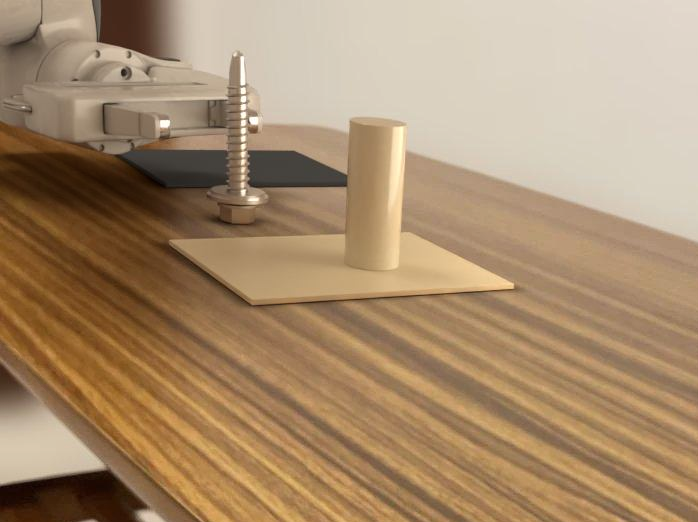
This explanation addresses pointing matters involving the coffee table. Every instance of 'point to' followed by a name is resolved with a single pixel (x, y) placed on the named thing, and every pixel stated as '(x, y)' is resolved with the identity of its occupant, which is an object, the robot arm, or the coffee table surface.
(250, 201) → the screw
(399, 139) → the cream peg
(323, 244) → the cream mat
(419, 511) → the coffee table surface
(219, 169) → the slate mat
